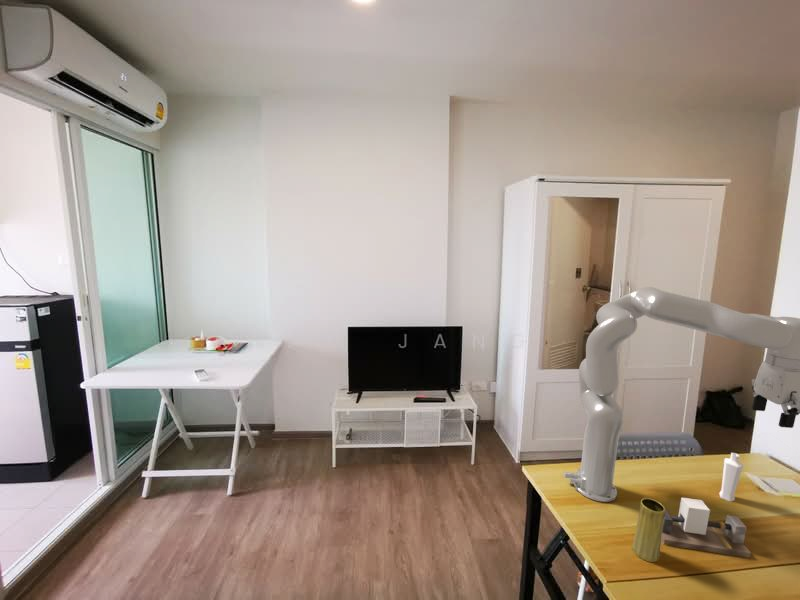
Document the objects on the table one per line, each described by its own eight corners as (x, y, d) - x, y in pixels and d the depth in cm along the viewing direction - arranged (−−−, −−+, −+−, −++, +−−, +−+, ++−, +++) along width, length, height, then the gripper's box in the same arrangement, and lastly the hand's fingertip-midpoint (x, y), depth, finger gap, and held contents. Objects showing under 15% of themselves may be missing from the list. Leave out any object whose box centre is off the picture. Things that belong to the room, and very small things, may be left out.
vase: (659, 566, 97) (667, 517, 94) (631, 555, 100) (638, 507, 97) (658, 549, 102) (666, 502, 99) (632, 539, 105) (638, 493, 102)
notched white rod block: (684, 531, 105) (688, 507, 103) (677, 520, 109) (681, 497, 107) (705, 534, 104) (710, 510, 102) (697, 523, 108) (701, 500, 106)
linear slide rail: (663, 544, 104) (667, 523, 102) (648, 517, 113) (651, 497, 112) (749, 558, 100) (754, 536, 98) (726, 528, 109) (730, 508, 108)
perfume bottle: (713, 492, 124) (721, 450, 121) (725, 492, 124) (734, 450, 122) (726, 502, 120) (734, 459, 117) (739, 502, 120) (748, 458, 117)
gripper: (745, 350, 116) (735, 403, 119) (795, 372, 99) (781, 433, 102) (773, 352, 115) (762, 405, 118) (828, 374, 98) (813, 435, 101)
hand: (771, 418), depth 110 cm, fingers open, 9 cm apart
